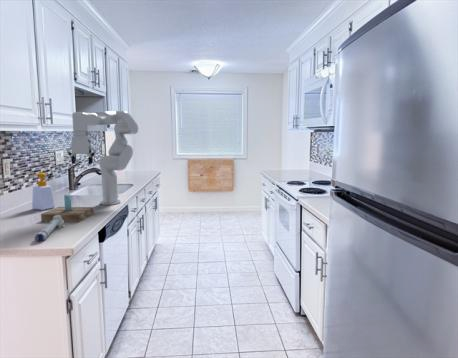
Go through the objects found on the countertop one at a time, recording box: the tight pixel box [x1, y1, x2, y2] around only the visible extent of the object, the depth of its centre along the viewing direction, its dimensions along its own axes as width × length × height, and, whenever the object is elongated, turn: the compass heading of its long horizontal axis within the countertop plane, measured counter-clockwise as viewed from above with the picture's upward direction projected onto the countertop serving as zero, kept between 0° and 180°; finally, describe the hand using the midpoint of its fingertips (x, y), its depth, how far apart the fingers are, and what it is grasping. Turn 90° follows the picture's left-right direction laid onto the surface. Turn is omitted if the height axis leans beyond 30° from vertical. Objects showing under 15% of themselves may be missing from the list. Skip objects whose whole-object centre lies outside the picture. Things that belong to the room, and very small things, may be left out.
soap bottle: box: [26, 172, 56, 211], centre depth 192 cm, size 10×14×22 cm
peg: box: [63, 194, 72, 212], centre depth 174 cm, size 3×3×12 cm
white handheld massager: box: [34, 215, 65, 243], centre depth 147 cm, size 5×7×25 cm
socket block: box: [40, 206, 95, 223], centre depth 175 cm, size 17×20×4 cm
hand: (82, 163), depth 185 cm, fingers open, 9 cm apart
